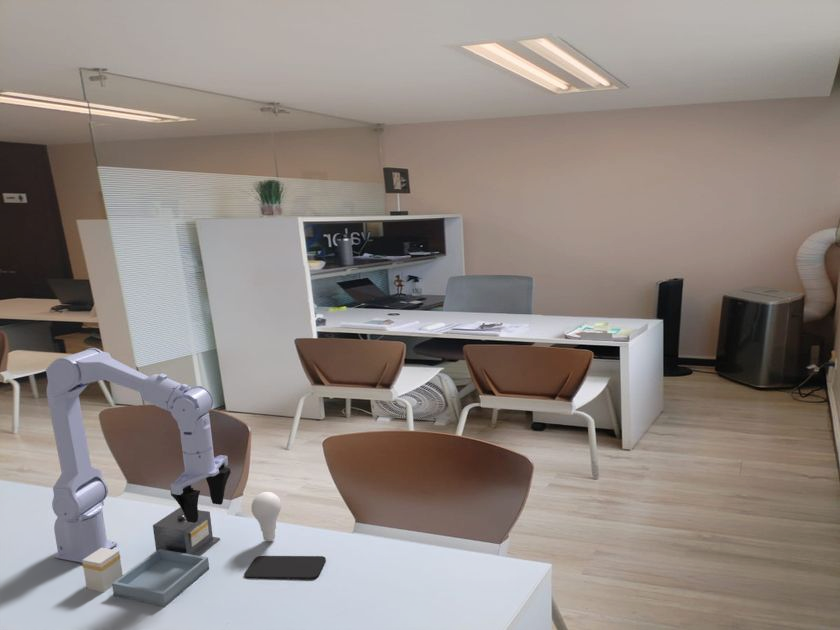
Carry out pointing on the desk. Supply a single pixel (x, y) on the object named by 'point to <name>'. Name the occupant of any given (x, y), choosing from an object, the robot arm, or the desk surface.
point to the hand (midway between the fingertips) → (205, 512)
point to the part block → (102, 569)
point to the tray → (161, 577)
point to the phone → (286, 567)
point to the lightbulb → (266, 513)
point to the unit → (184, 533)
